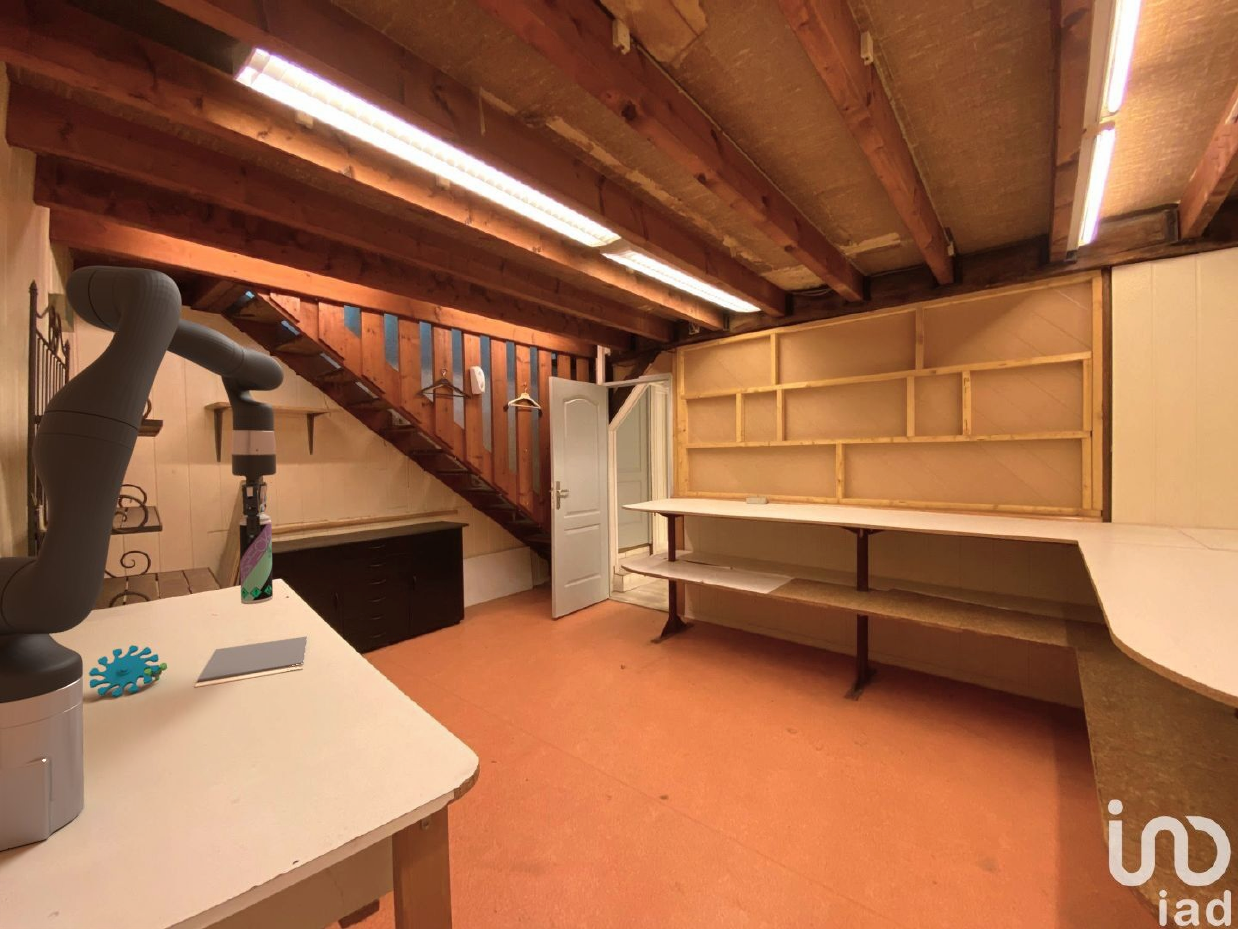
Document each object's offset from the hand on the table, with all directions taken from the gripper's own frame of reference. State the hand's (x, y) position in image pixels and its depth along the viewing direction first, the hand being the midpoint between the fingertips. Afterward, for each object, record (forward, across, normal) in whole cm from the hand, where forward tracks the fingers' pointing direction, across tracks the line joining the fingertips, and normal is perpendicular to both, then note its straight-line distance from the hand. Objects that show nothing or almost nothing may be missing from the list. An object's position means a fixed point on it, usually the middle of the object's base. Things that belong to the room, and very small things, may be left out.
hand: (255, 532), depth 107 cm
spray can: (+15, 0, 0) cm, 15 cm away
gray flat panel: (+30, +6, +1) cm, 30 cm away
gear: (+30, +1, +21) cm, 36 cm away
